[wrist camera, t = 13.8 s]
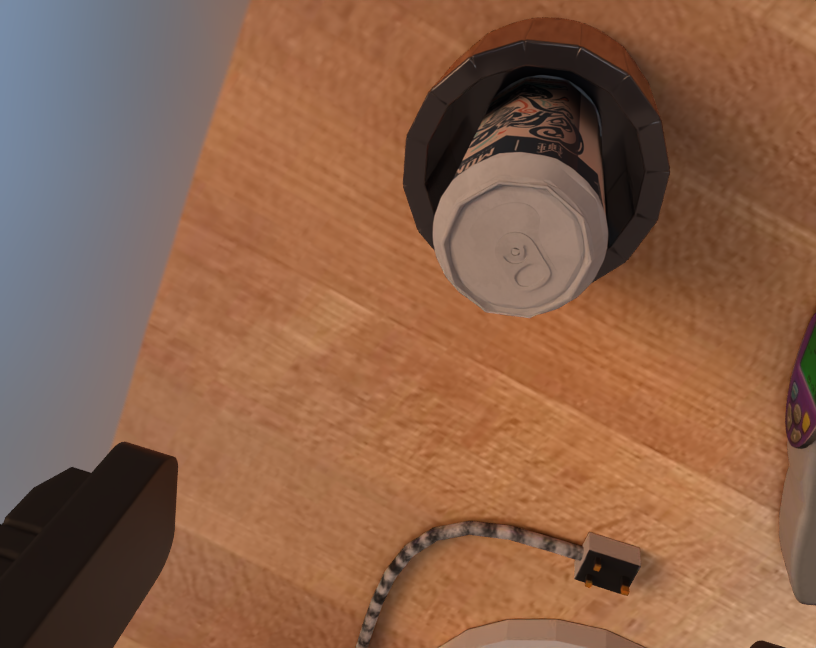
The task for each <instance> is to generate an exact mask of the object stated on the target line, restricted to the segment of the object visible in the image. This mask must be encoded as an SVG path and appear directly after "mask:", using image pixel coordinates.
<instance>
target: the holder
mask: <svg viewBox="0 0 816 648" xmlns="http://www.w3.org/2000/svg"><path fill="white" fill-rule="evenodd" d="M537 75H547V76H554V77H560V78H563V79H565V80H568V81H570V82H572V83H573V84H575V85H576V86H578V87H580V88H581V89H582V90H583V91H584V92H585V93H586V94H587V95H588V96H589V97H590V98H591V100H592V101H593V103H594V104H595V106H596V108H597V111H598V113H599V115H600V120H601V125H602V156H603V175H604V194H605V214H606V221H607V226H608V244H607V250H606V254H605V258H604V261H603V263H602V265H601V267H600V269H599V271H598V273H597V275H596V277H595V278H594V280H593V281H592V283H593V282H594V281H596V280H598V279H599V278H601V277H602V276H604V275H606V274H607V273H609V272H611V271H612V270H614V269H616V268H617V267H619V266H620V265H622V264H624V263H625V262H626V261H627V260H628V259H629V258H630V257H631V255H632V254H633V253H634V251H635V250H636V249H637V247H638V246H639V245H640V243H641V242H642V241H643V240H644V238H645V237H646V236H647V234H648V233H649V232H650V230H651V229H652V228H653V226H654V225H655V224H656V222H657V220H658V218H659V214H660V210H661V206H662V202H663V198H664V194H665V190H666V186H667V182H668V178H669V175H670V166H669V160H668V155H667V149H666V143H665V138H664V132H663V126H662V121H661V118H660V115H659V112H658V109H657V106H656V103H655V100H654V97H653V94H652V91H651V88H650V85H649V82H648V81H647V80H646V78H645V77H644V75H643V74H642V72H641V71H640V69H639V67H638V66H637V64H636V62H635V61H634V60H633V59H632V57H631V56H630V55H629V54H628V52H627V51H626V49H625V48H624V47H622V45H621V44H619V43H617V42H616V41H615V40H613V39H612V38H611V37H609V36H608V35H606V34H605V33H603V32H602V31H600V30H597V29H595V28H593V27H591V26H589V25H587V24H585V23H581V22H577V21H574V20H569V19H563V18H549V17H542V18H538V17H537V18H531V19H526V20H522V21H518V22H514V23H511V24H509V25H506V26H503V27H501V28H499V29H496V30H493V31H491V32H490V33H487V34H486V35H485V36H484V37H483V38H482V39H480V40H479V41H478V42H477V43H475V44H474V45H473V46H472V47H471V48H470V49H469V50H468V51H466V52H465V53H464V54H463V55H462V56H460V57H459V58H458V59H457V60H456V61H455V62H454V63H453V64H452V66H451V67H450V68H449V69H448V70H447V71H446V72H445V74H444V75H443V76H442V77H441V78H440V79H439V81H438V82H437V83H436V84H435V85H434V86H433V87H432V89H431V90H430V91H429V92H428V94H427V96H426V98H425V100H424V102H423V104H422V106H421V108H420V110H419V112H418V114H417V116H416V118H415V120H414V122H413V124H412V126H411V128H410V130H409V132H408V134H407V137H406V146H405V160H404V174H403V188H404V191H405V194H406V197H407V200H408V203H409V206H410V209H411V212H412V215H413V218H414V221H415V224H416V227H417V230H418V231H419V233H420V234H421V235H422V236H423V237H424V239H425V240H426V241H427V242H428V243H429V245H430V246H431V247H432V248H433V249H434V245H433V222H434V216H435V213H436V210H437V208H438V205H439V202H440V199H441V197H442V195H443V194H444V192H445V191H446V189H447V188H448V186H449V185H450V183H451V182H452V180H453V178H454V176H455V174H456V172H457V170H458V168H459V166H460V164H461V162H462V160H463V158H464V156H465V154H466V152H467V150H468V148H469V146H470V144H471V142H472V140H473V138H474V136H475V134H476V132H477V130H478V128H479V126H480V124H481V122H482V120H483V117H484V114H485V111H486V109H487V107H488V106H489V104H490V102H491V101H492V100H493V98H494V97H495V96H496V95H497V94H498V93H499V92H501V91H502V90H503V89H505V88H506V87H507V86H509V85H510V84H512V83H514V82H516V81H518V80H520V79H522V78H525V77H531V76H537ZM434 251H435V249H434Z"/></svg>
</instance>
